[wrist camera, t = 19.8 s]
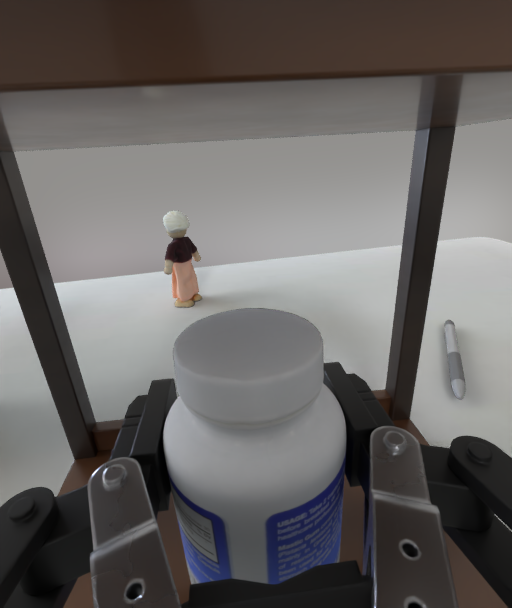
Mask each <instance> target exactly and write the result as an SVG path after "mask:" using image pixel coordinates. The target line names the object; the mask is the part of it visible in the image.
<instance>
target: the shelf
mask: <svg viewBox="0 0 512 608" xmlns="http://www.w3.org/2000/svg"><path fill="white" fill-rule="evenodd" d="M505 119H512V0H0V250H1V253H2V256H3V258H4V261H5V264H6V267H7V270H8V273H9V275H10V278H11V281H12V284H13V287H14V290H15V292H16V295H17V298H18V301H19V304H20V306H21V309H22V312H23V315H24V318H25V321H26V323H27V326H28V329H29V332H30V335H31V338H32V340H33V343H34V346H35V349H36V352H37V354H38V357H39V360H40V363H41V366H42V369H43V371H44V374H45V377H46V380H47V383H48V386H49V388H50V391H51V394H52V397H53V400H54V402H55V405H56V408H57V411H58V414H59V417H60V419H61V422H62V425H63V428H64V431H65V434H66V436H67V439H68V442H69V445H70V448H71V450H72V453H73V456H74V459H75V460H74V462H73V464H72V466H71V468H70V471H69V473H68V475H67V477H66V479H65V481H64V483H63V485H62V487H61V489H60V492H59V494H58V496H60V495H62V494H65V493H68V492H70V491H73V490H75V489H78V488H80V487H83V486H85V485H86V484H88V481H89V479H90V477H91V476H92V474H93V473H94V472H95V471H96V470H97V469H98V468H99V467H100V466H101V465H103V464H104V463H106V462H108V461H109V459H110V456H111V453H112V450H113V448H114V445H115V442H116V439H117V437H118V434H119V431H120V429H121V428H122V423H123V420H124V419H122V420H114V421H105V422H96V421H95V418H94V415H93V412H92V408H91V405H90V402H89V398H88V395H87V392H86V389H85V385H84V382H83V379H82V375H81V372H80V369H79V365H78V362H77V359H76V356H75V352H74V349H73V346H72V342H71V339H70V336H69V333H68V329H67V326H66V323H65V319H64V316H63V313H62V310H61V306H60V303H59V300H58V296H57V293H56V290H55V286H54V283H53V280H52V277H51V273H50V270H49V267H48V263H47V260H46V257H45V254H44V250H43V247H42V244H41V240H40V237H39V234H38V231H37V227H36V224H35V221H34V217H33V214H32V211H31V208H30V205H29V201H28V198H27V194H26V191H25V188H24V185H23V181H22V178H21V174H20V171H19V168H18V165H17V161H16V158H15V155H14V152H15V151H34V150H53V149H72V148H90V147H110V146H128V145H148V144H166V143H184V142H185V143H186V142H204V141H224V140H243V139H261V138H280V137H298V136H318V135H336V134H356V133H375V132H392V131H393V132H394V131H413V130H416V135H415V142H414V151H413V160H412V168H411V177H410V185H409V194H408V203H407V211H406V220H405V228H404V236H403V245H402V253H401V262H400V270H399V279H398V287H397V296H396V304H395V313H394V321H393V330H392V338H391V347H390V355H389V364H388V372H387V381H386V389H385V390H376V391H371V392H373V394H374V395H375V397H376V399H377V400H378V401H379V402H380V404H381V405H382V407H383V408H384V410H385V411H386V413H387V414H388V416H389V417H390V419H391V420H392V422H393V423H394V425H395V426H396V427H398V428H401V429H404V430H406V431H408V432H409V433H411V434H412V435H413V436H414V437H415V438H416V439H417V440H418V442H419V443H420V444H423V445H428V446H430V445H429V444H428V442H427V441H426V440H425V438H424V437H423V436H422V434H421V433H420V432H419V430H418V429H417V428H416V427H415V425H414V424H413V423H412V421H411V420H410V412H411V406H412V400H413V393H414V387H415V381H416V374H417V368H418V362H419V355H420V349H421V343H422V336H423V330H424V324H425V317H426V311H427V305H428V298H429V292H430V286H431V279H432V273H433V267H434V260H435V254H436V248H437V241H438V235H439V228H440V222H441V216H442V209H443V203H444V196H445V190H446V184H447V178H448V171H449V164H450V158H451V151H452V146H453V140H454V133H455V127H457V126H464V125H471V124H478V123H485V122H491V121H498V120H505ZM364 495H365V493H364V491H363V489H362V487H361V486H355V487H350V485H349V483H348V480H347V478H346V475H345V476H344V491H343V508H342V524H341V541H340V558H339V562H345V561H351V560H356V561H357V563H358V566H359V569H360V572H361V575H362V571H363V520H364ZM157 524H158V527H159V531H160V534H161V537H162V541H163V544H164V548H165V551H166V555H167V558H168V562H169V565H170V569H171V572H172V576H173V579H174V582H175V586H176V589H177V593H178V596H179V600H180V603H181V604H183V603H185V602H187V601H189V588H190V584H191V581H190V576H189V571H188V567H187V563H186V558H185V552H184V547H183V542H182V538H181V533H180V528H179V523H178V519H177V514H176V509H175V505H174V500H173V495H172V490H171V496H170V503H169V510H168V511H160V512H158V515H157ZM443 531H444V529H443ZM444 536H445V541H446V546H447V551H448V556H449V561H450V566H451V571H452V576H453V581H454V586H455V590H456V595H457V600H458V605H459V608H508V607H507V606H506V604H505V603H504V602H503V601H502V600H501V598H500V597H499V596H498V595H497V593H496V592H495V591H494V590H493V589H492V587H491V586H490V585H489V584H488V583H487V581H486V580H485V579H484V578H483V577H482V575H481V574H480V573H479V572H478V571H477V569H476V568H475V567H474V566H473V564H472V563H471V562H470V561H469V560H468V558H467V557H466V556H465V555H464V554H463V552H462V551H461V550H460V549H459V548H458V546H457V545H456V544H455V543H454V542H453V540H452V539H451V538H450V537H449V535H448V534H447V533H446V532H445V531H444ZM63 608H94V605H93V593H92V582H91V572H89V573H87V574H85V575H83V576H81V577H78V579H77V581H76V583H75V585H74V587H73V589H72V591H71V593H70V595H69V597H68V599H67V601H66V603H65V605H64V607H63Z"/></svg>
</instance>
